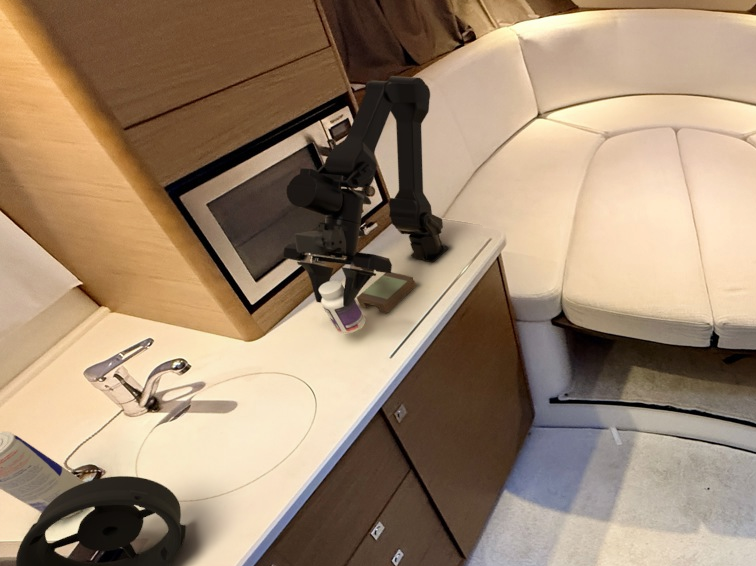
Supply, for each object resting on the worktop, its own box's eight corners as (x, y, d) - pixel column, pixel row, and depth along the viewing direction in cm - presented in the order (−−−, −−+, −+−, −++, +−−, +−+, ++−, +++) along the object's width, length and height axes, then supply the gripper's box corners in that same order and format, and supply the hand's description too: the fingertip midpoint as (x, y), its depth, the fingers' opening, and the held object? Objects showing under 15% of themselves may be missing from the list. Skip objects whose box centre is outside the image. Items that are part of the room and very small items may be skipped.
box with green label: (391, 279, 117) (387, 270, 116) (416, 285, 116) (412, 276, 114) (360, 306, 111) (355, 297, 109) (387, 313, 109) (382, 304, 107)
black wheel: (78, 447, 67) (59, 488, 60) (208, 475, 77) (205, 513, 69) (13, 542, 66) (-15, 595, 59) (152, 559, 76) (144, 606, 69)
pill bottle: (369, 315, 104) (350, 277, 97) (360, 334, 100) (339, 295, 93) (342, 316, 104) (321, 278, 97) (332, 334, 100) (309, 296, 93)
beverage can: (106, 488, 80) (24, 431, 69) (74, 522, 76) (-18, 467, 65) (73, 485, 80) (-13, 428, 70) (40, 519, 76) (-57, 464, 66)
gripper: (262, 205, 90) (251, 293, 90) (357, 215, 87) (345, 307, 87) (312, 220, 101) (302, 299, 101) (398, 230, 98) (387, 311, 98)
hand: (332, 304), depth 96 cm, fingers closed on pill bottle, 5 cm apart
